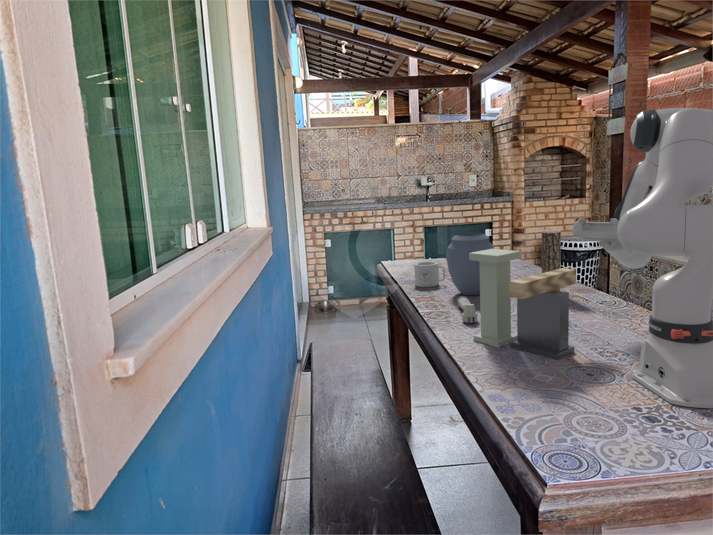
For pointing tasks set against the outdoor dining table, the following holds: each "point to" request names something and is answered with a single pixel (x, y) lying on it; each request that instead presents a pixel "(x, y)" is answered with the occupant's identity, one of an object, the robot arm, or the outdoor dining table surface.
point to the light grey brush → (467, 310)
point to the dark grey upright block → (544, 325)
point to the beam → (542, 283)
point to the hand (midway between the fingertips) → (596, 220)
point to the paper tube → (551, 250)
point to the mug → (427, 274)
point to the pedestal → (495, 296)
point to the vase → (466, 261)
